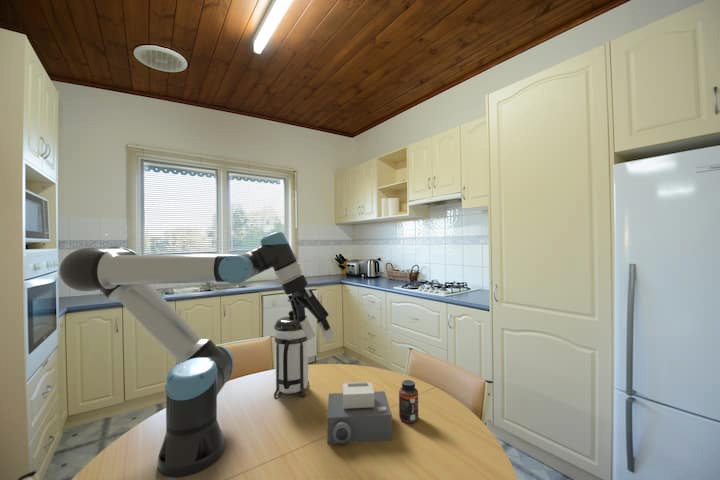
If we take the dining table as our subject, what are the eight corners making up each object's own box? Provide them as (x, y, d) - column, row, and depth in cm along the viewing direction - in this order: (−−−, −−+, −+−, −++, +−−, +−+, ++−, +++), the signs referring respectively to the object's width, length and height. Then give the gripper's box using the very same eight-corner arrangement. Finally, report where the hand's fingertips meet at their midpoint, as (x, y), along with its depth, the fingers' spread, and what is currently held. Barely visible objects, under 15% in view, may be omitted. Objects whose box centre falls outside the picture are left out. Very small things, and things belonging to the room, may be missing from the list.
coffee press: (261, 391, 117) (261, 311, 117) (299, 378, 127) (298, 305, 128) (284, 409, 104) (283, 319, 104) (323, 393, 115) (323, 311, 115)
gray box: (327, 448, 83) (326, 420, 84) (329, 415, 100) (328, 391, 100) (393, 445, 85) (393, 417, 85) (384, 412, 101) (384, 389, 101)
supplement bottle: (418, 425, 94) (418, 387, 94) (398, 423, 95) (398, 386, 95) (418, 414, 100) (417, 378, 100) (399, 413, 101) (399, 377, 101)
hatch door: (343, 408, 90) (343, 392, 90) (342, 396, 97) (342, 381, 97) (374, 407, 90) (374, 390, 90) (371, 395, 97) (371, 380, 97)
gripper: (319, 268, 91) (350, 333, 92) (287, 278, 111) (313, 331, 112) (297, 279, 86) (330, 347, 87) (269, 287, 106) (296, 343, 107)
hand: (321, 338), depth 99 cm, fingers open, 13 cm apart
